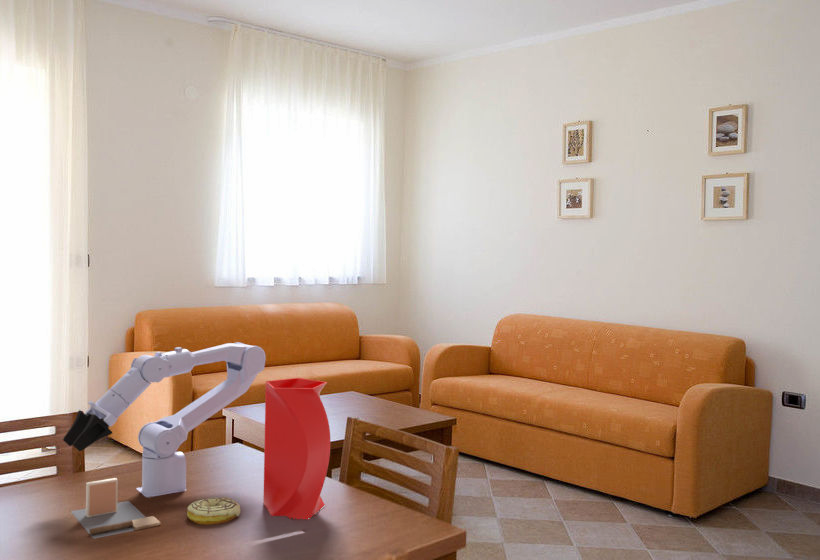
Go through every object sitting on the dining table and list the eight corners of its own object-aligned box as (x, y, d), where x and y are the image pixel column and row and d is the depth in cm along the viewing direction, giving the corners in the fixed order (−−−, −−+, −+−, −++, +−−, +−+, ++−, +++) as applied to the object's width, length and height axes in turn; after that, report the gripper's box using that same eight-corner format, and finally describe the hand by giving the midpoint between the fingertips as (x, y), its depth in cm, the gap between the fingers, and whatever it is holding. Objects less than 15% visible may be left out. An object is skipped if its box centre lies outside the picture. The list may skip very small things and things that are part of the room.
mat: (128, 503, 164) (128, 500, 164) (155, 528, 150) (155, 526, 150) (70, 514, 157) (70, 511, 157) (93, 541, 142) (93, 538, 142)
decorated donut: (249, 520, 157) (250, 502, 156) (205, 533, 149) (205, 514, 149) (222, 507, 164) (222, 490, 164) (178, 519, 156) (178, 501, 156)
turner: (153, 518, 154) (153, 512, 154) (160, 524, 150) (160, 518, 150) (87, 532, 146) (87, 525, 146) (93, 539, 142) (93, 532, 142)
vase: (337, 510, 163) (340, 385, 162) (285, 527, 152) (288, 393, 151) (295, 494, 173) (297, 375, 172) (242, 508, 163) (245, 382, 162)
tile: (115, 510, 158) (115, 477, 158) (117, 512, 157) (118, 479, 157) (85, 515, 154) (86, 482, 154) (87, 517, 153) (88, 484, 153)
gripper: (96, 383, 169) (48, 428, 162) (117, 388, 157) (66, 438, 151) (117, 404, 172) (72, 449, 165) (139, 410, 160) (91, 460, 154)
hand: (71, 445), depth 158 cm, fingers open, 7 cm apart
